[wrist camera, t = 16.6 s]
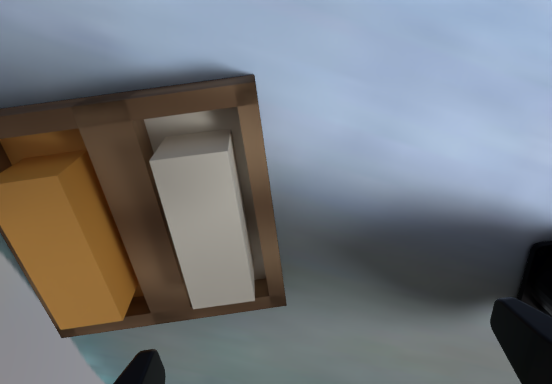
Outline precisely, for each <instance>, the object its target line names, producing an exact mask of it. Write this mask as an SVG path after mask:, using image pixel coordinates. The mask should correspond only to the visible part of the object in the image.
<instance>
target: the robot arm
mask: <svg viewBox="0 0 552 384" xmlns="http://www.w3.org/2000/svg"><path fill="white" fill-rule="evenodd" d="M490 324H491V328H492V330H493V332H494V334H495V336H496V338H497V340H498V341H499V343H500V345H501V347H502V349H503V351H504V353H505V354H506V356H507V358H508V360H509V362H510V364H511V365H512V367H513V369H514V371H515V373H516V375H517V377H518V378H519V380H520V382H521V383H522V384H552V241H547V242H540V243H536V244H535V245H533V246H532V247H531V249H530V253H529V257H528V260H527V264H526V268H525V271H524V275H523V279H522V282H521V286H520V290H519V293H518V297H517V299H516V298H513V297H506V298H499V299H497V300H496V301H495V302H494V306H493V310H492V315H491V319H490ZM113 384H165V369H164V366H163V364H162V361H161V359H160V356H159V354H158V352H157V350H155V349H150V350H144V351H140V352H139V353H138V354H137V355H136V356H135V357H134V359H133V360H132V361H131V362H130V363H129V365H128V366H127V367H126V368H125V370H124V371H123V372H122V373H121V375H120V376H119V377H118V378H117V380H116V381H115V382H114V383H113Z"/></svg>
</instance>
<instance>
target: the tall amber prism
mask: <svg viewBox="0 0 552 384" xmlns="http://www.w3.org/2000/svg"><path fill="white" fill-rule="evenodd" d="M0 226H1V228H2V229H3V231H4V233H5V235H6V236H7V238H8V240H9V241H10V243H11V245H12V247H13V248H14V250H15V252H16V254H17V255H18V257H19V259H20V260H21V262H22V264H23V266H24V267H25V269H26V271H27V273H28V274H29V276H30V278H31V279H32V281H33V283H34V285H35V286H36V288H37V290H38V291H39V293H40V295H41V297H42V298H43V300H44V302H45V304H46V305H47V307H48V309H49V310H50V312H51V314H52V316H53V317H54V319H55V321H56V323H57V324H58V326H59V328H60V329H61V330H63V329H70V328H77V327H84V326H90V325H97V324H104V323H111V322H117V321H123V319H124V317H125V315H126V312H127V310H128V307H129V305H130V302H131V300H132V298H133V295H134V293H135V290H136V288H137V285H138V283H139V282H138V279H137V276H136V274H135V271H134V269H133V266H132V264H131V261H130V259H129V256H128V253H127V251H126V248H125V246H124V243H123V241H122V238H121V236H120V233H119V230H118V228H117V225H116V223H115V220H114V218H113V215H112V213H111V210H110V207H109V205H108V202H107V200H106V197H105V195H104V192H103V190H102V187H101V184H100V182H99V179H98V177H97V174H96V172H95V169H94V167H93V164H92V161H91V159H90V156H89V154H88V151H87V149H86V150H79V151H71V152H64V153H57V154H50V155H43V156H36V157H29V158H23V159H22V160H20V161H19V162H17V163H15V164H14V165H12V166H11V167H9V168H7V169H6V170H4V171H3V172H1V173H0Z"/></svg>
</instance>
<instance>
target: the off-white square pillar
mask: <svg viewBox="0 0 552 384" xmlns="http://www.w3.org/2000/svg"><path fill="white" fill-rule="evenodd" d="M149 162H150V166H151V169H152V172H153V176H154V179H155V183H156V186H157V189H158V193H159V196H160V199H161V203H162V206H163V210H164V213H165V216H166V220H167V223H168V226H169V230H170V233H171V237H172V240H173V243H174V247H175V250H176V253H177V257H178V260H179V264H180V267H181V270H182V274H183V277H184V280H185V284H186V287H187V291H188V294H189V297H190V301H191V304H192V307H193V309H199V308H206V307H214V306H221V305H228V304H236V303H243V302H250V301H255V286H254V260H253V254H252V248H251V243H250V237H249V231H248V225H247V219H246V213H245V208H244V202H243V196H242V190H241V184H240V178H239V172H238V167H237V161H236V155H235V149H234V143H233V137H232V132H231V129H224V130H216V131H208V132H200V133H192V134H184V135H176V136H168V137H165V139H164V140H163V142H162V143H161V144H160V146H159V147H158V149H157V150H156V152H155V153H154V155H153V156H152V158H151V159H150V160H149Z"/></svg>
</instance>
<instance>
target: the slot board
mask: <svg viewBox="0 0 552 384" xmlns="http://www.w3.org/2000/svg"><path fill="white" fill-rule="evenodd" d="M224 129H231V132H232V137H233V143H234V149H235V155H236V161H237V167H238V172H239V178H240V184H241V190H242V196H243V202H244V208H245V213H246V219H247V225H248V231H249V237H250V243H251V248H252V254H253V260H254V286H255V301H250V302H243V303H236V304H228V305H221V306H214V307H206V308H199V309H193V307H192V304H191V301H190V297H189V294H188V291H187V287H186V284H185V280H184V277H183V274H182V270H181V267H180V264H179V260H178V257H177V253H176V250H175V247H174V243H173V240H172V237H171V233H170V230H169V226H168V223H167V220H166V216H165V213H164V210H163V206H162V203H161V199H160V196H159V193H158V189H157V186H156V183H155V179H154V176H153V172H152V169H151V166H150V162H149V160H150V159H151V158H152V156H153V155H154V153H155V152H156V150H157V149H158V147H159V146H160V144H161V143H162V142H163V140H164V139H165V137H168V136H176V135H184V134H192V133H200V132H208V131H216V130H224ZM86 149H87V151H88V154H89V156H90V159H91V161H92V164H93V167H94V169H95V172H96V174H97V177H98V179H99V182H100V184H101V187H102V190H103V192H104V195H105V197H106V200H107V202H108V205H109V207H110V210H111V213H112V215H113V218H114V220H115V223H116V225H117V228H118V230H119V233H120V236H121V238H122V241H123V243H124V246H125V248H126V251H127V253H128V256H129V259H130V261H131V264H132V266H133V269H134V271H135V274H136V276H137V279H138V282H139V283H138V285H137V288H136V290H135V293H134V295H133V298H132V300H131V302H130V305H129V307H128V310H127V312H126V315H125V317H124V319H123V321H117V322H111V323H104V324H97V325H90V326H84V327H77V328H70V329H63V330H61V329H60V328H59V326H58V324H57V323H56V321H55V319H54V317H53V316H52V314H51V312H50V310H49V309H48V307H47V305H46V304H45V302H44V300H43V298H42V297H41V295H40V293H39V291H38V290H37V288H36V286H35V285H34V283H33V281H32V279H31V278H30V276H29V274H28V273H27V271H26V269H25V267H24V266H23V264H22V262H21V260H20V259H19V257H18V255H17V254H16V252H15V250H14V248H13V247H12V245H11V243H10V241H9V240H8V238H7V236H6V235H5V233H4V231H3V229H2V228H1V226H0V233H1V234H2V236H3V238H4V240H5V241H6V243H7V245H8V247H9V248H10V250H11V252H12V253H13V255H14V257H15V259H16V260H17V262H18V264H19V265H20V267H21V269H22V271H23V272H24V274H25V276H26V277H27V279H28V281H29V283H30V284H31V286H32V288H33V290H34V291H35V293H36V295H37V296H38V298H39V300H40V302H41V303H42V305H43V307H44V308H45V310H46V312H47V314H48V315H49V317H50V319H51V321H52V322H53V324H54V326H55V327H56V329H57V331H58V332H59V334H60V336H61V338H66V337H73V336H80V335H87V334H94V333H101V332H107V331H114V330H121V329H128V328H135V327H142V326H149V325H156V324H163V323H169V322H176V321H183V320H190V319H197V318H204V317H211V316H218V315H225V314H232V313H238V312H245V311H252V310H259V309H266V308H273V307H280V306H287V304H286V297H285V290H284V283H283V276H282V269H281V262H280V254H279V247H278V240H277V233H276V226H275V219H274V212H273V205H272V197H271V190H270V183H269V176H268V169H267V162H266V155H265V148H264V140H263V133H262V126H261V119H260V112H259V105H258V98H257V91H256V83H255V76H254V75H247V76H239V77H232V78H224V79H217V80H210V81H202V82H195V83H187V84H180V85H173V86H165V87H158V88H150V89H143V90H135V91H128V92H121V93H113V94H106V95H98V96H91V97H84V98H76V99H69V100H61V101H54V102H47V103H39V104H32V105H24V106H17V107H10V108H2V109H0V173H1V172H3V171H4V170H6V169H7V168H9V167H11V166H12V165H14V164H15V163H17V162H19V161H20V160H22V159H23V158H29V157H36V156H43V155H50V154H57V153H64V152H71V151H79V150H86Z"/></svg>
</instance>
